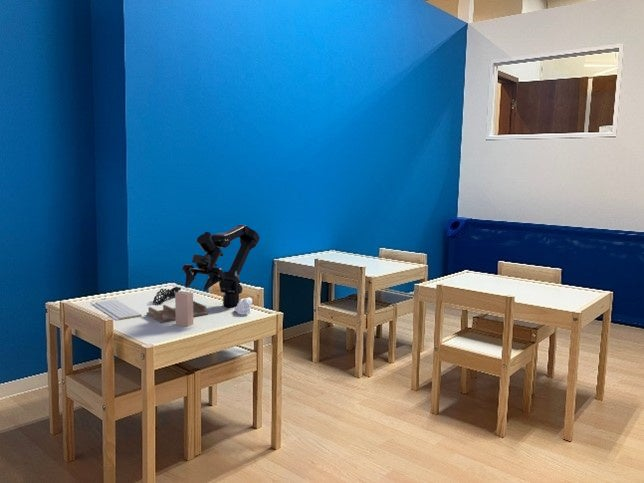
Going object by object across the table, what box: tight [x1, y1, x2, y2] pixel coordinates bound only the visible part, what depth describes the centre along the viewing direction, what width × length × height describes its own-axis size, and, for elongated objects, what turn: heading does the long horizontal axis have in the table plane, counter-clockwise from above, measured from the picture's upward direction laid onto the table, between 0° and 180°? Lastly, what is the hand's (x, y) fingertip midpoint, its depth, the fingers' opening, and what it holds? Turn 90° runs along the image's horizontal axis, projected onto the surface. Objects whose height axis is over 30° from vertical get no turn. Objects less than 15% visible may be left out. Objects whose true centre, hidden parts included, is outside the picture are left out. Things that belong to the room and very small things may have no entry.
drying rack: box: [146, 300, 209, 324], centre depth 231 cm, size 21×15×4 cm
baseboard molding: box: [89, 297, 143, 321], centre depth 236 cm, size 31×3×12 cm
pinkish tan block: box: [174, 290, 194, 327], centre depth 217 cm, size 4×6×13 cm, turn 66°
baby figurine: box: [233, 297, 253, 316], centre depth 238 cm, size 9×12×8 cm
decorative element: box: [152, 286, 182, 306], centre depth 257 cm, size 22×5×6 cm, turn 170°
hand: (195, 288), depth 222 cm, fingers open, 9 cm apart
